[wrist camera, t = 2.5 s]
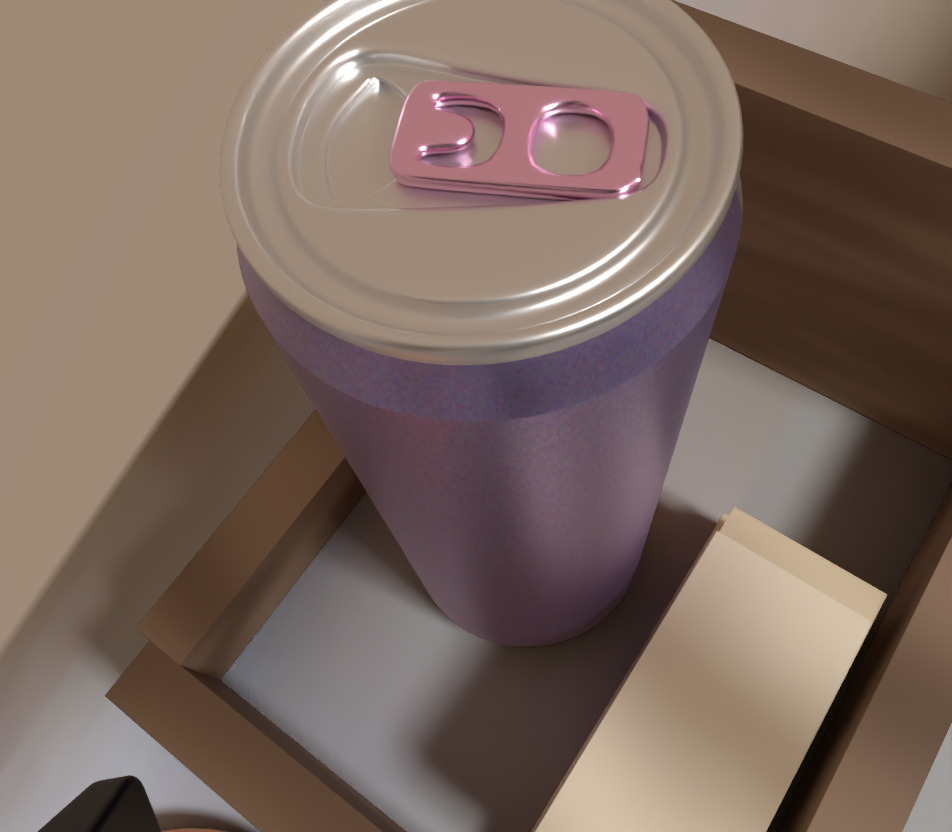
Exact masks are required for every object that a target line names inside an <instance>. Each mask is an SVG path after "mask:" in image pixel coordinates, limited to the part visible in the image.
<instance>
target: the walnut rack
mask: <svg viewBox="0 0 952 832" xmlns="http://www.w3.org/2000/svg"><path fill="white" fill-rule="evenodd" d="M671 1H673V2H674V3H675V4H677V5H678V6H679V7H680V8H681V9H682V10H684V11H685V12H686V13H687V14H688V15H689V16H690V17H691V18H692V19H693V20H694V21H695V22H696V23H697V24H698V25H699V26H700V27H701V28H702V29H703V31H704V32H705V33H706V34H707V36H708V37H709V38H710V39H711V41H712V42H713V44H714V45H715V47H716V48H717V50H718V51H719V53H720V55H721V56H722V58H723V60H724V62H725V64H726V66H727V67H728V70H729V72H730V74H731V77H732V79H733V81H734V84H735V88H736V91H737V94H738V97H739V102H740V107H741V112H742V122H743V153H742V162H741V169H740V173H739V174H740V179H741V187H742V198H743V208H742V223H741V232H740V237H739V241H738V246H737V250H736V253H735V256H734V260H733V263H732V266H731V269H730V272H729V276H728V279H727V282H726V285H725V288H724V292H723V295H722V298H721V301H720V304H719V308H718V311H717V314H716V317H715V320H714V324H713V327H712V330H711V333H710V336H709V337H710V338H712V339H714V340H716V341H718V342H720V343H722V344H724V345H726V346H728V347H730V348H732V349H734V350H736V351H738V352H740V353H742V354H744V355H746V356H748V357H749V358H751V359H753V360H755V361H757V362H759V363H761V364H763V365H765V366H767V367H769V368H771V369H773V370H775V371H777V372H779V373H781V374H783V375H785V376H787V377H789V378H791V379H793V380H795V381H797V382H799V383H801V384H803V385H805V386H807V387H809V388H811V389H813V390H815V391H817V392H819V393H821V394H823V395H825V396H827V397H829V398H831V399H833V400H835V401H837V402H839V403H841V404H843V405H845V406H847V407H849V408H851V409H853V410H855V411H857V412H859V413H861V414H863V415H865V416H867V417H869V418H871V419H873V420H875V421H877V422H879V423H881V424H883V425H884V426H886V427H888V428H890V429H892V430H894V431H896V432H898V433H900V434H902V435H904V436H906V437H908V438H910V439H912V440H914V441H916V442H918V443H920V444H922V445H924V446H926V447H928V448H930V449H932V450H934V451H936V452H938V453H940V454H942V455H944V456H946V457H948V458H950V459H952V103H950V102H947V101H945V100H942V99H939V98H937V97H934V96H931V95H928V94H926V93H923V92H920V91H918V90H915V89H912V88H909V87H907V86H904V85H901V84H899V83H896V82H893V81H890V80H888V79H885V78H882V77H880V76H877V75H874V74H872V73H869V72H866V71H863V70H861V69H858V68H855V67H853V66H850V65H847V64H844V63H842V62H839V61H836V60H834V59H831V58H828V57H825V56H823V55H820V54H817V53H815V52H812V51H809V50H806V49H804V48H801V47H798V46H796V45H793V44H790V43H788V42H785V41H782V40H779V39H777V38H774V37H771V36H769V35H766V34H763V33H760V32H758V31H755V30H752V29H750V28H747V27H744V26H741V25H739V24H736V23H733V22H731V21H728V20H725V19H722V18H720V17H717V16H714V15H712V14H709V13H706V12H703V11H701V10H698V9H695V8H693V7H690V6H687V5H685V4H682V3H679V2H676V1H674V0H671ZM365 492H366V490H365V488H364V487H363V485H362V484H361V482H360V480H359V479H358V477H357V475H356V474H355V472H354V470H353V469H352V467H351V466H350V464H349V462H348V461H347V459H346V457H345V456H344V454H343V452H342V451H341V449H340V448H339V446H338V444H337V443H336V441H335V439H334V438H333V436H332V434H331V433H330V431H329V429H328V428H327V426H326V425H325V423H324V421H323V420H322V418H321V416H320V415H319V413H318V411H317V410H315V411H314V412H313V414H312V415H311V416H310V417H309V418H308V420H307V421H306V422H305V423H304V424H303V426H302V427H301V428H300V429H299V430H298V432H297V433H296V434H295V435H294V437H293V438H292V439H291V440H290V441H289V443H288V444H287V445H286V446H285V447H284V449H283V450H282V451H281V452H280V453H279V455H278V456H277V457H276V458H275V460H274V461H273V462H272V463H271V464H270V466H269V467H268V468H267V469H266V470H265V472H264V473H263V474H262V475H261V476H260V478H259V479H258V480H257V481H256V483H255V484H254V485H253V486H252V487H251V489H250V490H249V491H248V492H247V493H246V495H245V496H244V497H243V498H242V499H241V501H240V502H239V503H238V504H237V506H236V507H235V508H234V509H233V510H232V512H231V513H230V514H229V515H228V516H227V518H226V519H225V520H224V521H223V523H222V524H221V525H220V526H219V527H218V529H217V530H216V531H215V532H214V533H213V535H212V536H211V537H210V538H209V539H208V541H207V542H206V543H205V544H204V546H203V547H202V548H201V549H200V550H199V552H198V553H197V554H196V555H195V556H194V558H193V559H192V560H191V561H190V562H189V564H188V565H187V566H186V567H185V569H184V570H183V571H182V572H181V573H180V575H179V576H178V577H177V578H176V579H175V581H174V582H173V583H172V584H171V585H170V587H169V588H168V589H167V590H166V592H165V593H164V594H163V595H162V596H161V598H160V599H159V600H158V601H157V602H156V604H155V605H154V606H153V607H152V608H151V610H150V611H149V612H148V613H147V615H146V616H145V617H144V618H143V619H142V621H141V622H140V623H139V624H138V625H137V627H136V628H135V629H137V630H138V631H139V632H140V633H142V634H143V635H144V636H145V637H146V638H148V639H149V640H150V641H149V642H148V643H147V644H146V646H145V647H144V648H143V649H142V651H141V652H140V653H139V654H138V655H137V657H136V658H135V659H134V660H133V662H132V663H131V664H130V665H129V667H128V668H127V669H126V670H125V671H124V673H123V674H122V675H121V676H120V678H119V679H118V680H117V681H116V682H115V684H114V685H113V686H112V687H111V689H110V690H109V691H108V692H107V694H106V695H105V696H106V697H107V698H108V699H109V700H110V701H111V702H112V703H114V704H115V705H116V706H117V707H118V708H119V709H120V710H122V711H123V712H124V713H125V714H126V715H127V716H128V717H130V718H131V719H132V720H133V721H134V722H135V723H136V724H138V725H139V726H140V727H141V728H142V729H143V730H144V731H146V732H147V733H148V734H149V735H150V736H151V737H153V738H154V739H155V740H156V741H157V742H158V743H159V744H161V745H162V746H163V747H164V748H165V749H166V750H167V751H169V752H170V753H171V754H172V755H173V756H174V757H175V758H177V759H178V760H179V761H180V762H181V763H182V764H183V765H185V766H186V767H187V768H188V769H189V770H190V771H191V772H193V773H194V774H195V775H196V776H197V777H198V778H199V779H201V780H202V781H203V782H204V783H205V784H206V785H208V786H209V787H210V788H211V789H212V790H213V791H214V792H216V793H217V794H218V795H219V796H220V797H221V798H222V799H224V800H225V801H226V802H227V803H228V804H229V805H230V806H232V807H233V808H234V809H235V810H236V811H237V812H238V813H240V814H241V815H242V816H243V817H244V818H245V819H246V820H248V821H249V822H250V823H251V824H252V825H253V826H254V827H256V828H257V829H258V830H259V831H260V832H406V831H405V830H404V829H402V828H401V827H400V826H399V825H398V824H396V823H395V822H394V821H393V820H391V819H390V818H389V817H388V816H386V815H385V814H384V813H383V812H382V811H380V810H379V809H378V808H377V807H375V806H374V805H373V804H372V803H370V802H369V801H368V800H367V799H365V798H364V797H363V796H362V795H361V794H359V793H358V792H357V791H356V790H354V789H353V788H352V787H351V786H349V785H348V784H347V783H346V782H345V781H343V780H342V779H341V778H340V777H338V776H337V775H336V774H335V773H333V772H332V771H331V770H330V769H329V768H327V767H326V766H325V765H324V764H322V763H321V762H320V761H319V760H317V759H316V758H315V757H314V756H313V755H311V754H310V753H309V752H308V751H306V750H305V749H304V748H303V747H301V746H300V745H299V744H298V743H297V742H295V741H294V740H293V739H292V738H290V737H289V736H288V735H287V734H285V733H284V732H283V731H282V730H281V729H279V728H278V727H277V726H276V725H274V724H273V723H272V722H271V721H269V720H268V719H267V718H266V717H265V716H263V715H262V714H261V713H260V712H258V711H257V710H256V709H255V708H253V707H252V706H251V705H250V704H249V703H247V702H246V701H245V700H244V699H242V698H241V697H240V696H239V695H237V694H236V693H235V692H234V691H232V690H231V689H230V688H229V687H228V686H226V685H225V684H224V683H223V682H221V681H220V680H221V678H222V677H223V676H224V674H225V673H226V672H227V671H228V669H229V668H230V667H231V665H232V664H233V663H234V661H235V660H236V659H237V658H238V656H239V655H240V654H241V652H242V651H243V650H244V649H245V647H246V646H247V645H248V643H249V642H250V641H251V639H252V638H253V637H254V636H255V634H256V633H257V632H258V630H259V629H260V628H261V626H262V625H263V624H264V623H265V621H266V620H267V619H268V617H269V616H270V615H271V614H272V612H273V611H274V610H275V608H276V607H277V606H278V604H279V603H280V602H281V601H282V599H283V598H284V597H285V595H286V594H287V593H288V592H289V590H290V589H291V588H292V586H293V585H294V584H295V582H296V581H297V580H298V579H299V577H300V576H301V575H302V573H303V572H304V571H305V569H306V568H307V567H308V566H309V564H310V563H311V562H312V560H313V559H314V558H315V557H316V555H317V554H318V553H319V551H320V550H321V549H322V547H323V546H324V545H325V544H326V542H327V541H328V540H329V538H330V537H331V536H332V534H333V533H334V532H335V531H336V529H337V528H338V527H339V525H340V524H341V523H342V522H343V520H344V519H345V518H346V516H347V515H348V514H349V512H350V511H351V510H352V509H353V507H354V506H355V505H356V503H357V502H358V501H359V499H360V498H361V497H362V496H363V494H364V493H365ZM951 723H952V484H951V486H950V488H949V490H948V492H947V494H946V496H945V498H944V500H943V502H942V504H941V506H940V508H939V510H938V511H937V513H936V515H935V517H934V519H933V521H932V523H931V525H930V527H929V529H928V531H927V533H926V535H925V537H924V539H923V541H922V543H921V545H920V547H919V549H918V551H917V553H916V555H915V557H914V559H913V561H912V563H911V565H910V567H909V569H908V571H907V573H906V575H905V577H904V579H903V581H902V583H901V585H900V587H899V589H898V591H897V593H896V595H895V597H894V599H893V601H892V603H891V605H890V607H889V609H888V611H887V613H886V615H885V617H884V619H883V621H882V623H881V625H880V627H879V629H878V631H877V633H876V635H875V637H874V639H873V640H872V642H871V644H870V646H869V648H868V650H867V652H866V654H865V656H864V658H863V660H862V662H861V664H860V666H859V668H858V670H857V672H856V674H855V676H854V678H853V680H852V682H851V684H850V686H849V688H848V690H847V692H846V694H845V696H844V698H843V700H842V702H841V704H840V706H839V708H838V710H837V712H836V714H835V716H834V718H833V720H832V722H831V724H830V726H829V728H828V730H827V732H826V734H825V736H824V738H823V740H822V742H821V744H820V746H819V748H818V750H817V752H816V754H815V756H814V758H813V760H812V762H811V764H810V766H809V768H808V770H807V771H806V773H805V775H804V777H803V779H802V781H801V783H800V785H799V787H798V789H797V791H796V793H795V795H794V797H793V799H792V801H791V803H790V805H789V807H788V809H787V811H786V813H785V815H784V817H783V819H782V821H781V823H780V825H779V827H778V829H777V831H776V832H902V831H903V828H904V826H905V824H906V822H907V820H908V817H909V815H910V813H911V811H912V809H913V806H914V804H915V802H916V800H917V798H918V795H919V793H920V791H921V789H922V787H923V784H924V782H925V780H926V778H927V776H928V773H929V771H930V769H931V767H932V765H933V762H934V760H935V758H936V756H937V754H938V751H939V749H940V747H941V745H942V743H943V740H944V738H945V736H946V734H947V732H948V729H949V727H950V725H951Z"/></svg>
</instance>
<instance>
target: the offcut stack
mask: <svg viewBox="0 0 952 832" xmlns="http://www.w3.org/2000/svg"><path fill="white" fill-rule="evenodd" d="M886 596H887V594H886V593H884V592H882V591H880V590H879V589H877V588H875V587H873V586H872V585H870V584H868V583H866V582H865V581H863V580H861V579H859V578H858V577H856V576H854V575H852V574H851V573H849V572H847V571H845V570H844V569H842V568H840V567H838V566H837V565H835V564H833V563H832V562H830V561H828V560H826V559H825V558H823V557H821V556H819V555H818V554H816V553H814V552H812V551H811V550H809V549H807V548H805V547H804V546H802V545H800V544H798V543H797V542H795V541H793V540H791V539H790V538H788V537H786V536H784V535H783V534H781V533H779V532H777V531H776V530H774V529H772V528H771V527H769V526H767V525H765V524H764V523H762V522H760V521H758V520H757V519H755V518H753V517H751V516H750V515H748V514H746V513H744V512H743V511H741V510H739V509H737V508H736V507H734V508H733V510H732V512H731V513H730V515H729V516H728V515H727V514H725V513H724V514H723V515H722V517H721V518H720V520H719V522H718V523H717V525H716V527H715V528H714V530H713V532H712V533H711V535H710V537H709V538H708V540H707V542H706V543H705V545H704V547H703V548H702V550H701V552H700V553H699V555H698V556H697V558H696V560H695V561H694V563H693V565H692V566H691V568H690V570H689V571H688V573H687V575H686V576H685V578H684V580H683V581H682V583H681V585H680V586H679V588H678V589H677V591H676V593H675V594H674V596H673V598H672V599H671V601H670V603H669V604H668V606H667V608H666V609H665V611H664V613H663V614H662V616H661V618H660V619H659V621H658V623H657V624H656V626H655V627H654V629H653V631H652V632H651V634H650V636H649V637H648V639H647V641H646V642H645V644H644V646H643V647H642V649H641V651H640V652H639V654H638V656H637V657H636V659H635V660H634V662H633V664H632V665H631V667H630V669H629V670H628V672H627V674H626V675H625V677H624V679H623V680H622V682H621V684H620V685H619V687H618V689H617V690H616V692H615V694H614V695H613V697H612V698H611V700H610V702H609V703H608V705H607V707H606V708H605V710H604V712H603V713H602V715H601V717H600V718H599V720H598V722H597V723H596V725H595V727H594V728H593V730H592V731H591V733H590V735H589V736H588V738H587V740H586V741H585V743H584V745H583V746H582V748H581V750H580V751H579V753H578V755H577V756H576V758H575V760H574V761H573V763H572V765H571V766H570V768H569V769H568V771H567V773H566V774H565V776H564V778H563V779H562V781H561V783H560V784H559V786H558V788H557V789H556V791H555V793H554V794H553V796H552V798H551V799H550V801H549V802H548V804H547V806H546V807H545V809H544V811H543V812H542V814H541V816H540V817H539V819H538V821H537V822H536V824H535V826H534V827H533V829H532V831H531V832H766V831H767V829H768V827H769V825H770V823H771V821H772V819H773V817H774V815H775V813H776V811H777V809H778V808H779V806H780V804H781V802H782V800H783V798H784V796H785V794H786V792H787V790H788V788H789V786H790V784H791V782H792V780H793V778H794V776H795V774H796V772H797V770H798V768H799V767H800V765H801V763H802V761H803V759H804V757H805V755H806V753H807V751H808V749H809V747H810V745H811V743H812V741H813V739H814V737H815V735H816V733H817V731H818V729H819V727H820V725H821V724H822V722H823V720H824V718H825V716H826V714H827V712H828V710H829V708H830V706H831V704H832V702H833V700H834V698H835V696H836V694H837V692H838V690H839V688H840V686H841V684H842V682H843V681H844V679H845V677H846V675H847V673H848V671H849V669H850V667H851V665H852V663H853V661H854V659H855V657H856V655H857V653H858V651H859V649H860V647H861V645H862V643H863V641H864V639H865V638H866V636H867V634H868V632H869V630H870V628H871V626H872V624H873V622H874V620H875V618H876V616H877V614H878V612H879V610H880V608H881V606H882V604H883V602H884V600H885V598H886Z"/></svg>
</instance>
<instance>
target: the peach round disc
mask: <svg viewBox="0 0 952 832" xmlns="http://www.w3.org/2000/svg"><path fill="white" fill-rule="evenodd" d="M161 832H231V831H226V830H220V829H209V828H183V829H174V830H166V831H161Z"/></svg>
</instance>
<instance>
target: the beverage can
mask: <svg viewBox="0 0 952 832" xmlns="http://www.w3.org/2000/svg"><path fill="white" fill-rule="evenodd" d="M742 153H743V122H742V112H741V107H740V102H739V97H738V94H737V91H736V88H735V84H734V81H733V79H732V77H731V74H730V72H729V70H728V67H727V66H726V64H725V62H724V60H723V58H722V56H721V55H720V53H719V51H718V50H717V48H716V47H715V45H714V44H713V42H712V41H711V39H710V38H709V37H708V36H707V34H706V33H705V32H704V31H703V29H702V28H701V27H700V26H699V25H698V24H697V23H696V22H695V21H694V20H693V19H692V18H691V17H690V16H689V15H688V14H687V13H686V12H685V11H684V10H682V9H681V8H680V7H679V6H678V5H677V4H675V3H674V2H673V1H671V0H324V1H323V2H321V3H320V4H318V5H317V6H315V7H314V8H312V9H311V10H310V11H309V12H307V13H306V14H304V15H303V16H302V17H300V18H299V19H298V20H297V21H296V22H295V23H293V24H292V25H291V26H290V27H289V28H288V29H287V30H285V32H284V33H282V34H281V35H280V36H279V37H278V38H277V39H276V40H275V41H274V42H273V44H272V45H271V46H270V47H269V48H268V49H267V50H266V51H265V53H264V54H263V55H262V56H261V58H260V59H259V60H258V62H257V63H256V64H255V65H254V67H253V69H252V70H251V71H250V73H249V74H248V76H247V78H246V80H245V81H244V83H243V85H242V86H241V88H240V90H239V92H238V94H237V96H236V98H235V101H234V103H233V105H232V107H231V111H230V113H229V116H228V119H227V122H226V126H225V130H224V134H223V138H222V145H221V151H220V165H219V167H220V168H219V173H220V188H221V194H222V201H223V205H224V209H225V213H226V217H227V220H228V223H229V225H230V228H231V231H232V233H233V236H234V238H235V240H236V242H237V252H238V257H239V264H240V269H241V273H242V277H243V280H244V284H245V286H246V289H247V292H248V295H249V297H250V299H251V301H252V303H253V305H254V307H255V310H256V312H257V313H258V315H259V317H260V318H261V320H262V321H263V323H264V325H265V326H266V328H267V330H268V331H269V333H270V335H271V336H272V338H273V339H274V341H275V343H276V344H277V346H278V348H279V349H280V351H281V353H282V354H283V356H284V357H285V359H286V361H287V362H288V364H289V366H290V367H291V369H292V371H293V372H294V374H295V375H296V377H297V379H298V380H299V382H300V384H301V385H302V387H303V389H304V390H305V392H306V393H307V395H308V397H309V398H310V400H311V402H312V403H313V405H314V407H315V408H316V410H317V411H318V413H319V415H320V416H321V418H322V420H323V421H324V423H325V425H326V426H327V428H328V429H329V431H330V433H331V434H332V436H333V438H334V439H335V441H336V443H337V444H338V446H339V448H340V449H341V451H342V452H343V454H344V456H345V457H346V459H347V461H348V462H349V464H350V466H351V467H352V469H353V470H354V472H355V474H356V475H357V477H358V479H359V480H360V482H361V484H362V485H363V487H364V488H365V490H366V492H367V493H368V495H369V497H370V498H371V500H372V502H373V503H374V505H375V506H376V508H377V510H378V511H379V513H380V515H381V516H382V518H383V520H384V521H385V523H386V524H387V526H388V528H389V529H390V531H391V533H392V534H393V536H394V538H395V539H396V541H397V542H398V544H399V546H400V547H401V549H402V551H403V552H404V554H405V556H406V557H407V559H408V560H409V562H410V564H411V565H412V567H413V569H414V570H415V572H416V574H417V575H418V577H419V578H420V580H421V582H422V583H423V585H424V587H425V588H426V590H427V592H428V593H429V595H430V596H431V598H432V599H433V600H434V602H435V603H436V604H437V606H438V607H439V608H440V609H441V610H442V611H443V612H444V613H445V614H446V615H447V616H448V617H449V618H450V619H451V620H453V621H454V622H455V623H456V624H458V625H459V626H461V627H462V628H463V629H465V630H467V631H469V632H470V633H472V634H474V635H476V636H478V637H481V638H483V639H486V640H488V641H492V642H495V643H499V644H503V645H509V646H518V647H536V646H545V645H550V644H555V643H559V642H562V641H565V640H568V639H571V638H573V637H575V636H577V635H580V634H582V633H583V632H585V631H587V630H589V629H590V628H592V627H593V626H595V625H596V624H598V623H599V622H600V621H601V620H603V619H604V618H605V617H606V616H607V615H608V614H609V613H610V612H611V611H612V610H613V609H614V608H615V607H616V606H617V604H618V603H619V602H620V600H621V599H622V598H623V596H624V595H625V593H626V592H627V590H628V588H629V586H630V584H631V582H632V580H633V578H634V575H635V573H636V570H637V567H638V564H639V561H640V557H641V554H642V551H643V548H644V545H645V541H646V538H647V535H648V532H649V529H650V525H651V522H652V519H653V516H654V513H655V509H656V506H657V503H658V500H659V497H660V493H661V490H662V487H663V484H664V481H665V477H666V474H667V471H668V468H669V465H670V461H671V458H672V455H673V452H674V449H675V445H676V442H677V439H678V436H679V432H680V429H681V426H682V423H683V420H684V416H685V413H686V410H687V407H688V404H689V400H690V397H691V394H692V391H693V388H694V384H695V381H696V378H697V375H698V372H699V368H700V365H701V362H702V359H703V356H704V352H705V349H706V346H707V343H708V340H709V336H710V333H711V330H712V327H713V324H714V320H715V317H716V314H717V311H718V308H719V304H720V301H721V298H722V295H723V292H724V288H725V285H726V282H727V279H728V276H729V272H730V269H731V266H732V263H733V260H734V256H735V253H736V250H737V246H738V241H739V237H740V232H741V223H742V208H743V198H742V187H741V179H740V174H739V173H740V169H741V162H742Z"/></svg>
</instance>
